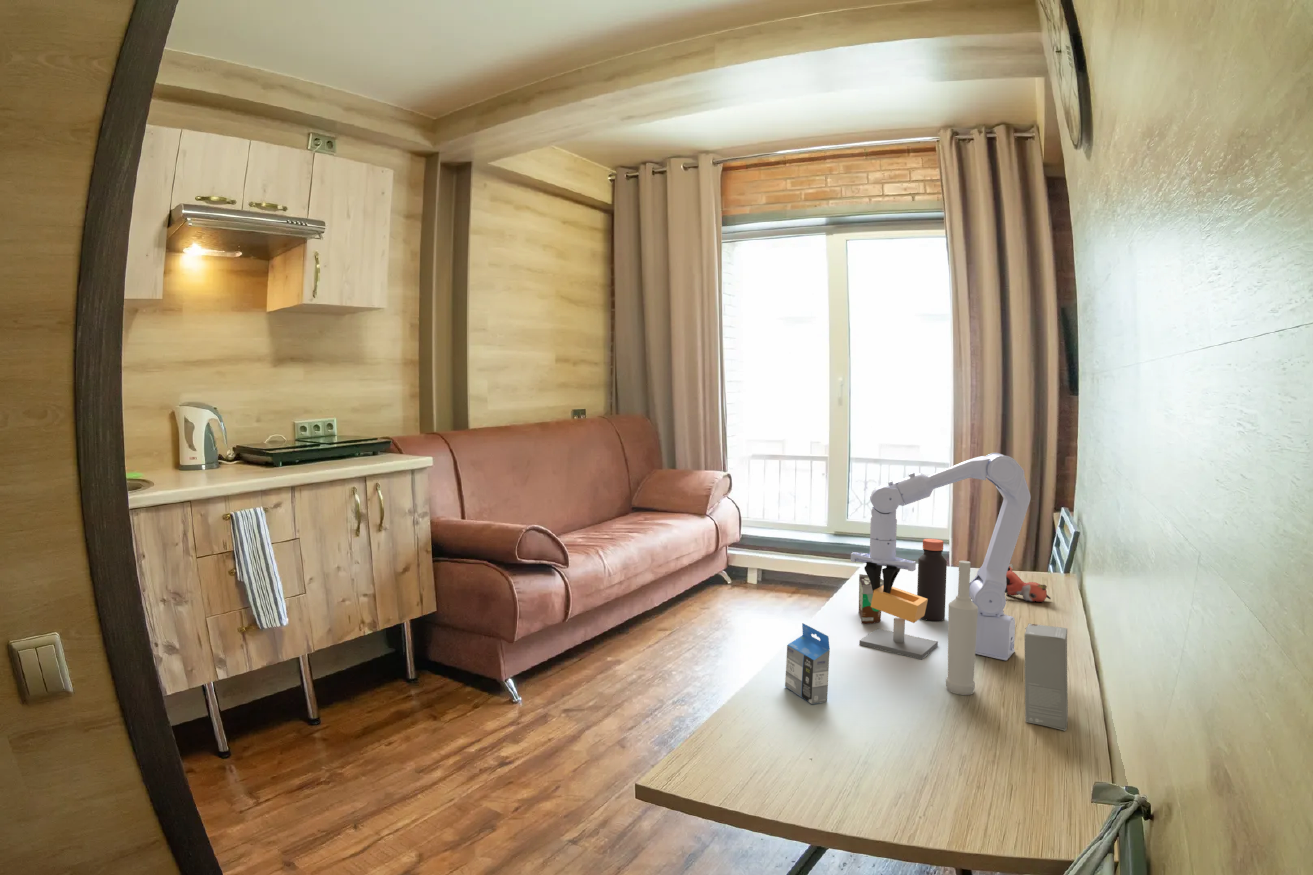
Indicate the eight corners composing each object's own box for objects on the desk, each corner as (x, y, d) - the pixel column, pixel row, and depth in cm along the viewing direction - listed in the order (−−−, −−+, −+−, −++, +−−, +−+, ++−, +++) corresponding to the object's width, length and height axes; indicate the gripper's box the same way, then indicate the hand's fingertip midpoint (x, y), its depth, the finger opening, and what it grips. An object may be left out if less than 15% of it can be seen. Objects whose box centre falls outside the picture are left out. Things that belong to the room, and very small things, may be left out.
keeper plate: (937, 645, 161) (938, 619, 161) (921, 659, 152) (922, 631, 152) (877, 632, 170) (878, 607, 169) (859, 644, 161) (860, 618, 161)
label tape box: (784, 686, 137) (785, 624, 136) (801, 683, 139) (803, 622, 138) (811, 705, 129) (812, 639, 128) (829, 701, 131) (831, 636, 130)
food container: (888, 627, 174) (889, 587, 173) (862, 625, 175) (863, 585, 174) (882, 612, 186) (883, 575, 185) (858, 611, 187) (859, 573, 186)
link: (924, 615, 161) (927, 598, 160) (913, 622, 155) (917, 605, 155) (881, 600, 167) (885, 584, 166) (870, 606, 161) (873, 590, 161)
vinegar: (916, 619, 180) (918, 541, 179) (916, 612, 186) (919, 536, 185) (944, 622, 178) (947, 544, 176) (944, 615, 184) (947, 539, 183)
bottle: (973, 686, 138) (978, 560, 137) (976, 697, 133) (981, 566, 132) (944, 682, 140) (949, 557, 138) (946, 693, 135) (951, 563, 134)
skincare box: (1066, 732, 119) (1071, 640, 119) (1019, 721, 123) (1023, 632, 122) (1068, 713, 127) (1072, 626, 126) (1023, 704, 130) (1027, 619, 130)
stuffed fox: (1008, 567, 209) (1053, 571, 202) (1003, 603, 205) (1050, 608, 197) (1002, 556, 204) (1048, 560, 197) (997, 593, 200) (1044, 598, 192)
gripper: (845, 536, 164) (844, 594, 165) (908, 545, 155) (907, 606, 156) (858, 532, 169) (856, 588, 170) (919, 540, 160) (917, 599, 161)
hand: (881, 596), depth 163 cm, fingers closed on link, 2 cm apart
